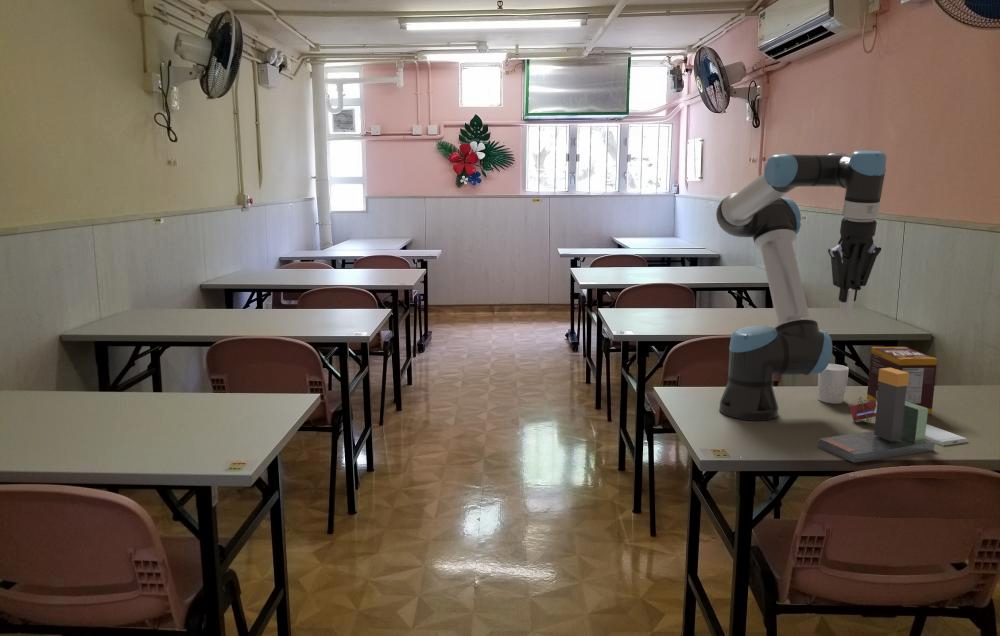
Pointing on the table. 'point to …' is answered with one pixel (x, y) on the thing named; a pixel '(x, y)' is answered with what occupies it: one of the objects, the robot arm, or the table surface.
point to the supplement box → (907, 361)
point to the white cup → (832, 383)
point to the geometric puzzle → (863, 410)
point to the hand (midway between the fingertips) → (845, 314)
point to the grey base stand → (876, 447)
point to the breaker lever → (891, 403)
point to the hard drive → (942, 436)
